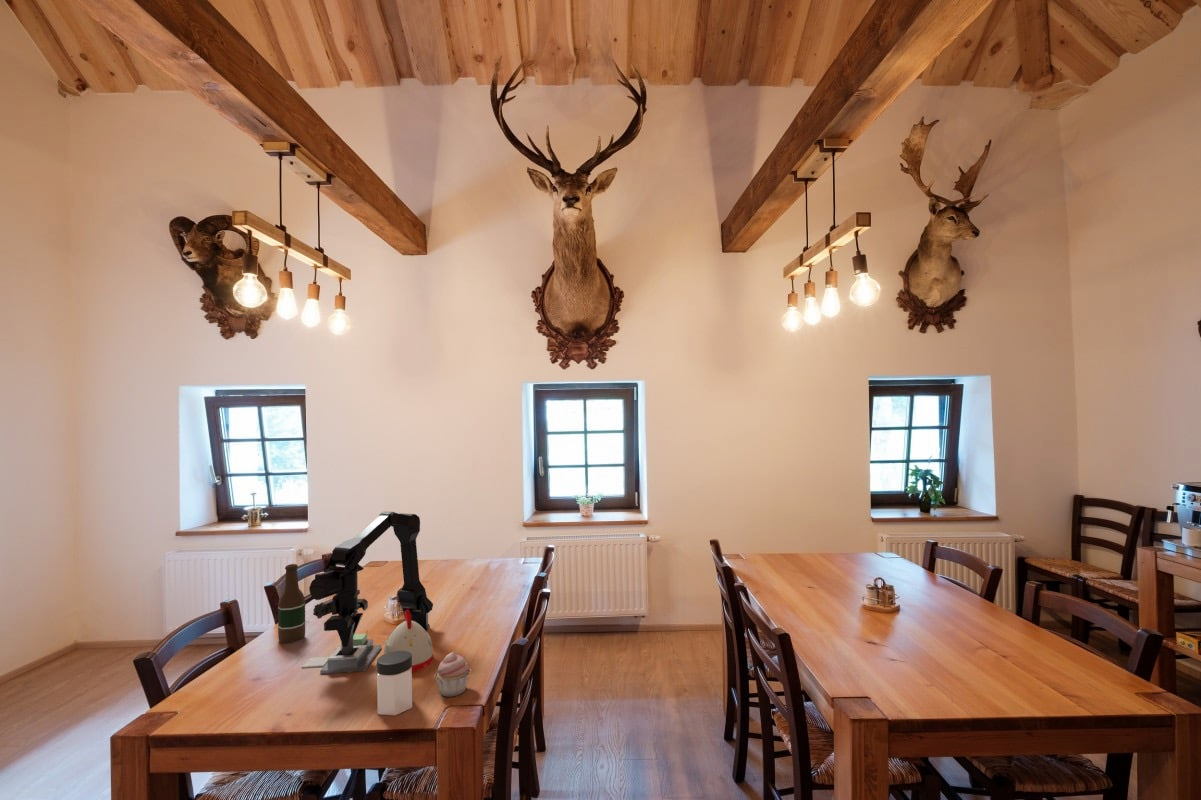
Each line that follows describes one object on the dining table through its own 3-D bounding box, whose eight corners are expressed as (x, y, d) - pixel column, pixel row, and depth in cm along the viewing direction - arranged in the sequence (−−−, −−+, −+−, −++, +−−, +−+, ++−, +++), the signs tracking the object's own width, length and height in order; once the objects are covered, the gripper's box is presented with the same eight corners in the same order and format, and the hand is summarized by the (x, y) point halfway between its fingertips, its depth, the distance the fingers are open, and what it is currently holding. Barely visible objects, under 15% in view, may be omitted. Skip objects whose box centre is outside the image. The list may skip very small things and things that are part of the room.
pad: (331, 657, 166) (331, 656, 166) (323, 666, 160) (323, 665, 160) (310, 659, 165) (310, 657, 165) (301, 668, 159) (301, 666, 159)
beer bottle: (310, 635, 184) (310, 562, 185) (290, 644, 177) (290, 568, 178) (293, 633, 187) (292, 561, 187) (272, 642, 179) (272, 567, 180)
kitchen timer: (385, 677, 152) (384, 622, 152) (380, 659, 164) (379, 607, 165) (437, 666, 158) (436, 612, 159) (428, 649, 170) (427, 599, 171)
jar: (402, 694, 142) (402, 647, 142) (420, 704, 136) (419, 655, 137) (369, 709, 135) (368, 659, 135) (386, 720, 130) (385, 668, 130)
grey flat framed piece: (381, 648, 172) (381, 634, 172) (364, 671, 156) (364, 655, 156) (341, 650, 171) (340, 636, 171) (320, 674, 155) (320, 658, 155)
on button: (367, 640, 170) (367, 633, 170) (362, 645, 166) (362, 639, 166) (352, 641, 170) (352, 634, 170) (347, 646, 166) (347, 640, 166)
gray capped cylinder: (343, 654, 161) (342, 619, 162) (356, 653, 161) (355, 618, 162) (338, 659, 158) (338, 624, 158) (351, 658, 158) (351, 623, 158)
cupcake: (472, 696, 140) (472, 656, 140) (434, 703, 137) (433, 661, 138) (470, 680, 149) (470, 642, 149) (434, 686, 146) (433, 647, 146)
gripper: (330, 581, 169) (330, 633, 168) (303, 601, 150) (304, 659, 150) (368, 579, 170) (368, 631, 169) (346, 599, 151) (347, 657, 151)
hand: (347, 644), depth 160 cm, fingers closed on gray capped cylinder, 3 cm apart
